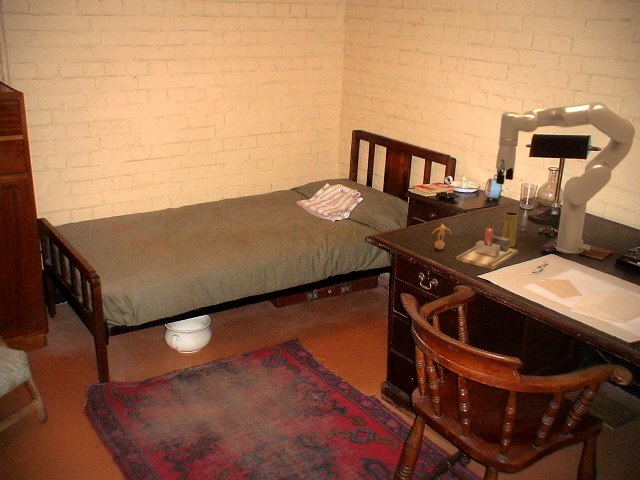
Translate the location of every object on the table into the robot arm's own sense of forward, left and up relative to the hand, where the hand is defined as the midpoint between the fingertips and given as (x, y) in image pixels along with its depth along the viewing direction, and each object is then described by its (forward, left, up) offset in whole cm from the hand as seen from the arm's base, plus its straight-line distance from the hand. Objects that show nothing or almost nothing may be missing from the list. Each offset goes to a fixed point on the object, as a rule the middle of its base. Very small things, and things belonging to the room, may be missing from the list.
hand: (504, 181), depth 282 cm
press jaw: (-5, +21, -26) cm, 34 cm away
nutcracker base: (-5, +21, -27) cm, 35 cm away
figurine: (+14, +27, -28) cm, 41 cm away
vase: (-5, +1, -28) cm, 28 cm away
